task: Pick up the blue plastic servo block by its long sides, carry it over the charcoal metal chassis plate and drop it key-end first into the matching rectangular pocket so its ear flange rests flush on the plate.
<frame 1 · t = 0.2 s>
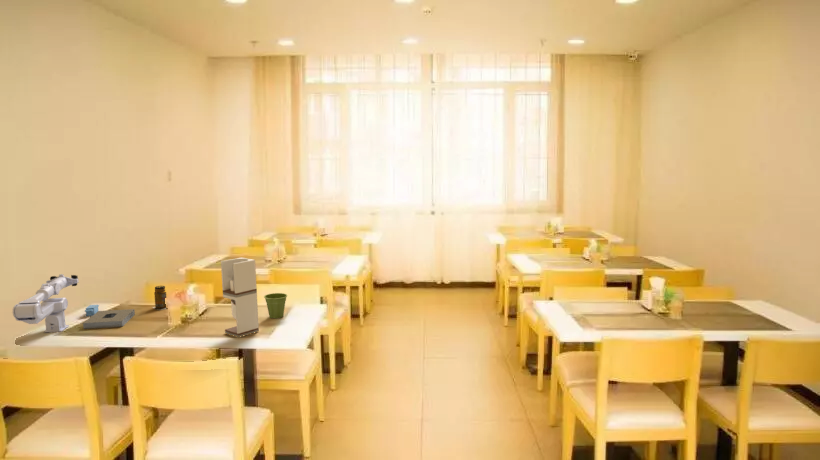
hand: (69, 277, 312), 21 cm above the table, tool horizontal, fingers open, 7 cm apart
servo: (92, 314, 321), on the table
condiment: (161, 308, 332), on the table
chassis: (110, 321, 307), on the table
plant pot: (276, 317, 311), on the table
espresso maker: (242, 333, 285), on the table
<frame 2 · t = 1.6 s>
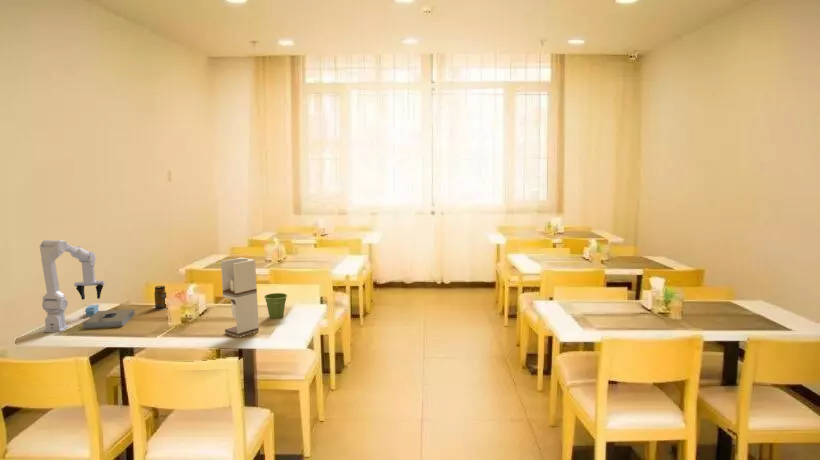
hand: (91, 298, 320), 8 cm above the table, tool pointing down, fingers open, 7 cm apart
nothing on the table moved.
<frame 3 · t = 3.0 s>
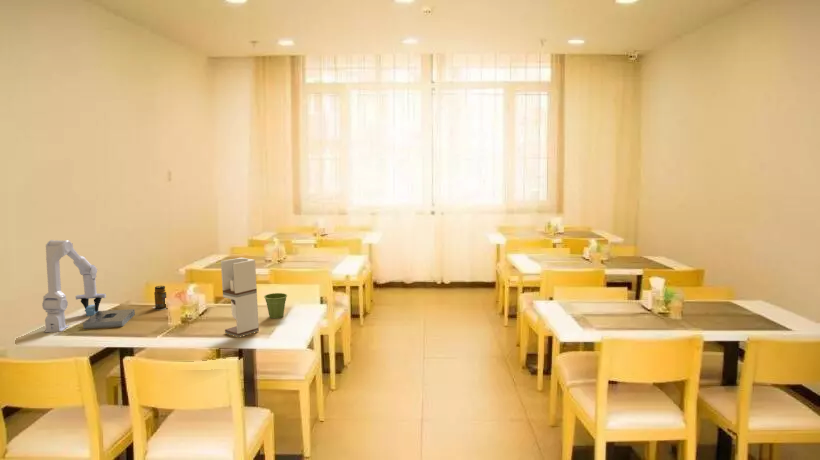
hand: (92, 311, 321), 1 cm above the table, tool pointing down, fingers closed on servo, 4 cm apart
servo: (92, 314, 321), on the table, touching gripper
everything else where it was.
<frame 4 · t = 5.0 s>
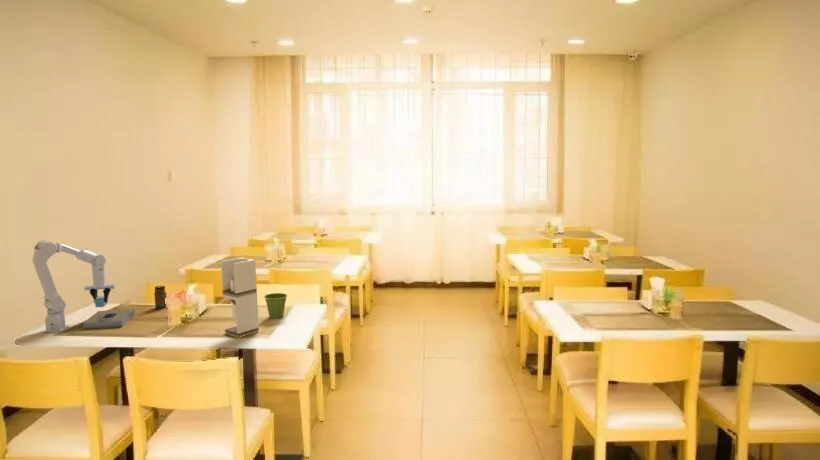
hand: (101, 302, 312), 8 cm above the table, tool pointing down, fingers closed on servo, 4 cm apart
servo: (101, 305, 312), point 7 cm above the table, touching gripper
everything else where it was.
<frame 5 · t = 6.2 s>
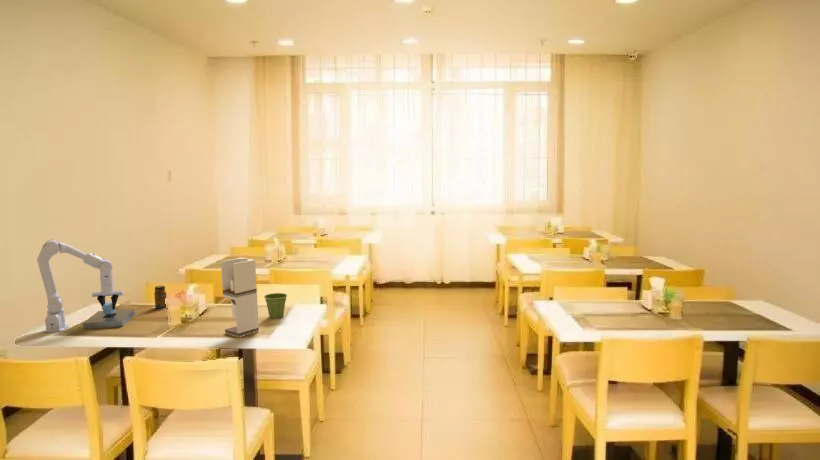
hand: (109, 309, 306), 6 cm above the table, tool pointing down, fingers closed on servo, 4 cm apart
servo: (109, 312, 307), point 5 cm above the table, touching gripper
everything else where it was.
when the fingers open (4 cm above the table, at t = 7.2 s): servo drops 2 cm, resting on chassis.
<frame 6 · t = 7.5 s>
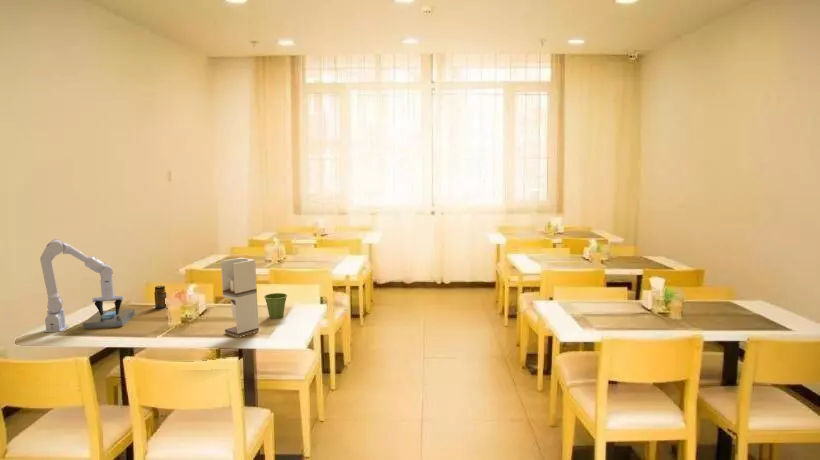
hand: (109, 314, 307), 4 cm above the table, tool pointing down, fingers open, 7 cm apart
servo: (110, 321, 307), resting on chassis
everything else where it was.
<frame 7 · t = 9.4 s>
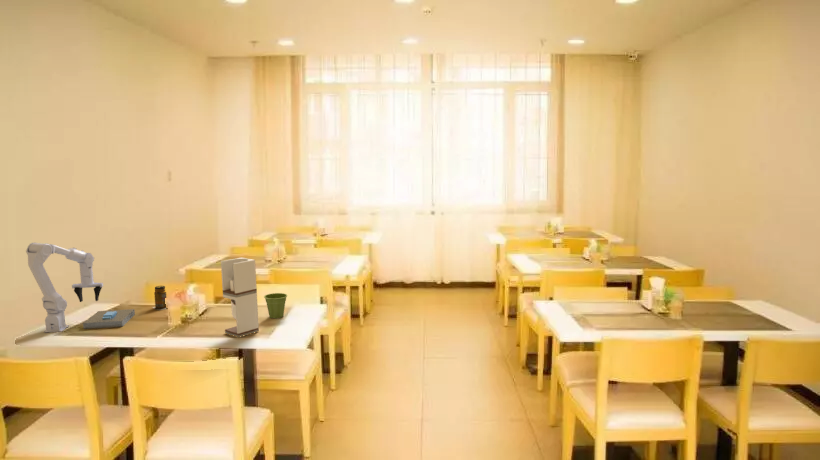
hand: (89, 301, 312), 9 cm above the table, tool pointing down, fingers open, 7 cm apart
servo: (110, 321, 307), resting in chassis
everything else where it was.
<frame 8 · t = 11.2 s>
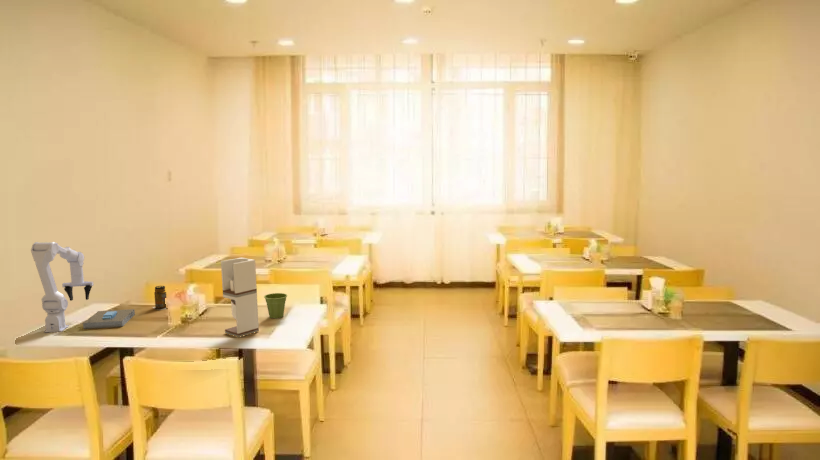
hand: (79, 299, 315), 9 cm above the table, tool pointing down, fingers open, 7 cm apart
nothing on the table moved.
at the end: servo 0.3 cm off-centre on the chassis, point 0.0 cm above the chassis's base; servo tilted 0°; the gripper is holding nothing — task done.
